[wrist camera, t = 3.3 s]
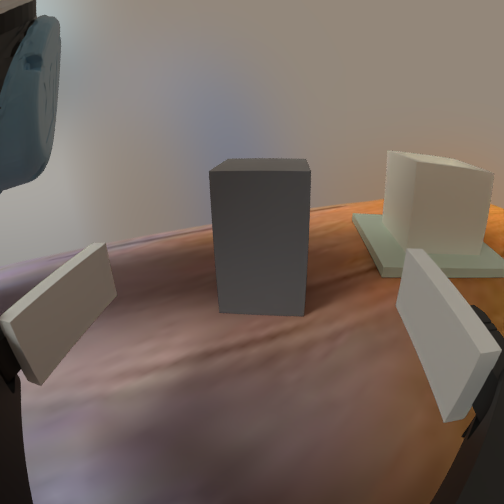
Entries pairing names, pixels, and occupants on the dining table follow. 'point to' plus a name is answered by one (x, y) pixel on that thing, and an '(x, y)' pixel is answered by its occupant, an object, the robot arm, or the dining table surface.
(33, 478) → the dining table surface
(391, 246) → the green baseplate
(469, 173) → the cream base brick
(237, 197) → the charcoal brick
